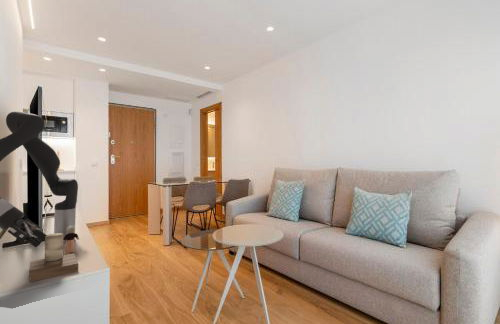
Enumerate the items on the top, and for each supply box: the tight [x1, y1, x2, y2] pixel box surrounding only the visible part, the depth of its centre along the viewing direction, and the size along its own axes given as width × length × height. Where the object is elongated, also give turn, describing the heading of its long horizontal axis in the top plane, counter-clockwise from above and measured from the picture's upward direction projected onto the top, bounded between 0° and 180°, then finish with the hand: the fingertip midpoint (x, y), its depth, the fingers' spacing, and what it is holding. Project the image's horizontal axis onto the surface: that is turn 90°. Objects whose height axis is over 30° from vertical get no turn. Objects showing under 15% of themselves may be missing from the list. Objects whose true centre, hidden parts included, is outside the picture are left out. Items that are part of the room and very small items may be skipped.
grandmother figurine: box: [63, 226, 80, 255], centre depth 115 cm, size 8×4×13 cm, turn 168°
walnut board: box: [29, 253, 79, 283], centre depth 96 cm, size 14×14×3 cm
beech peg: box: [44, 233, 64, 265], centre depth 96 cm, size 6×6×13 cm
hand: (42, 241), depth 95 cm, fingers open, 8 cm apart
